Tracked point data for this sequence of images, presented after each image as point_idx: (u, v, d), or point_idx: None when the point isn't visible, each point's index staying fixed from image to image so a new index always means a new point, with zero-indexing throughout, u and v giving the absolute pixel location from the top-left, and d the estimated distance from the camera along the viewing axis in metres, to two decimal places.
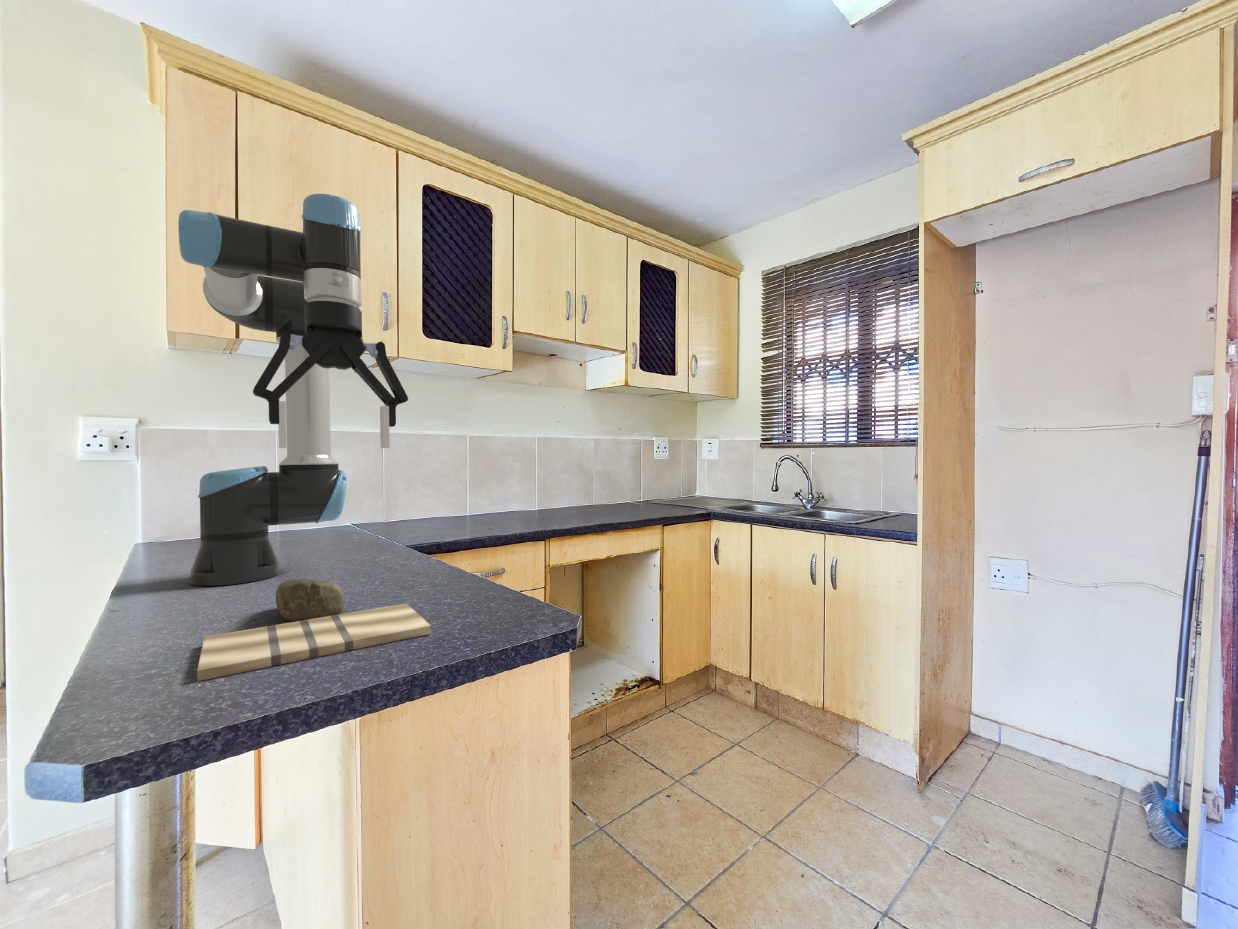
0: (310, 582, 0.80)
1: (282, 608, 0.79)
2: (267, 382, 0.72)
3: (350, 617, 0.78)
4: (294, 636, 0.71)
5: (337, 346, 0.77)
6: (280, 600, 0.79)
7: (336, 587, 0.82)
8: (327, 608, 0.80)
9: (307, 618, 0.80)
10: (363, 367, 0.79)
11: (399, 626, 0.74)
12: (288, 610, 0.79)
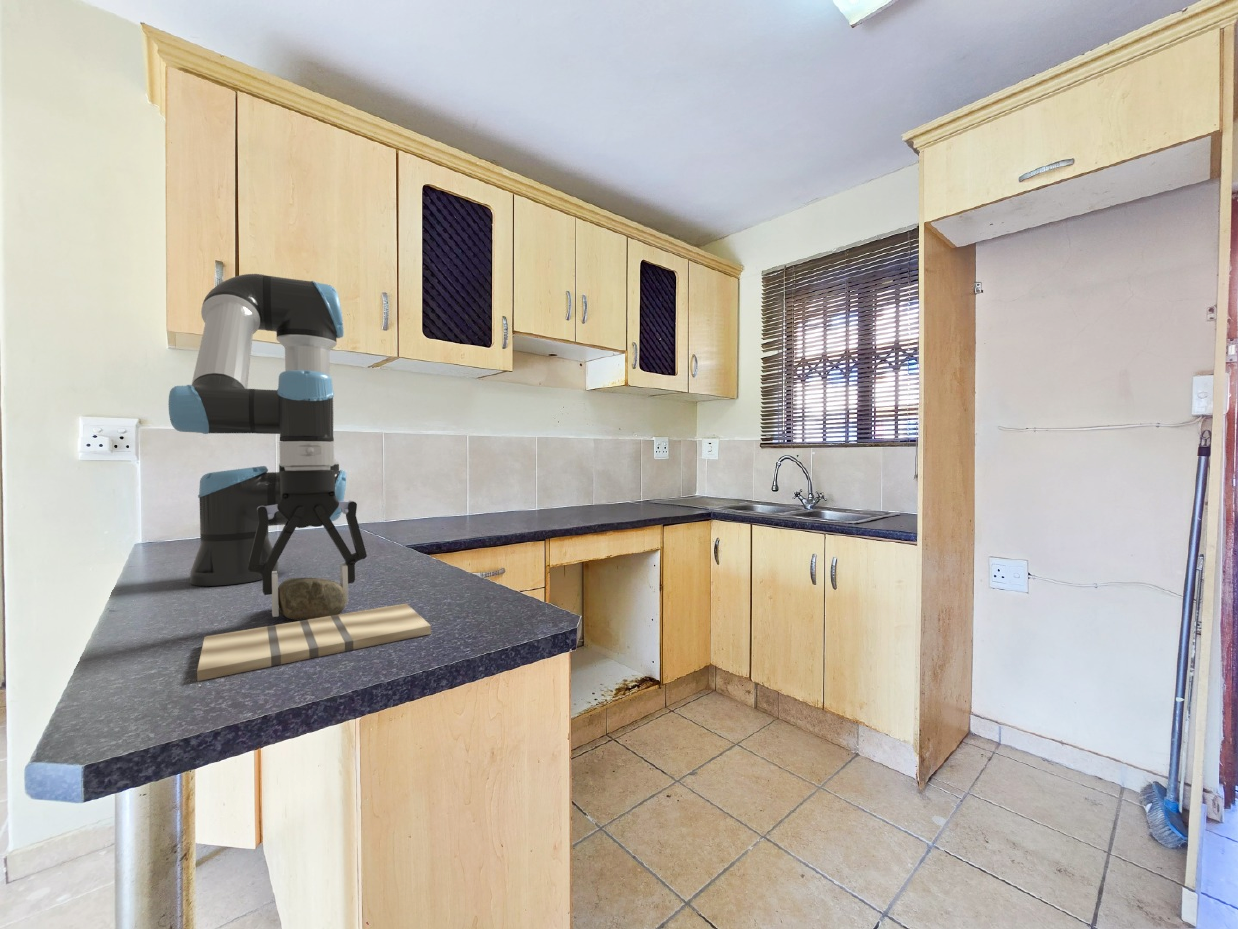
0: (312, 580, 0.80)
1: (284, 606, 0.79)
2: (258, 558, 0.79)
3: (350, 617, 0.78)
4: (294, 636, 0.71)
5: (311, 508, 0.83)
6: (282, 598, 0.79)
7: (337, 586, 0.82)
8: (328, 607, 0.80)
9: (309, 616, 0.80)
10: (331, 527, 0.84)
11: (399, 626, 0.74)
12: (289, 608, 0.79)
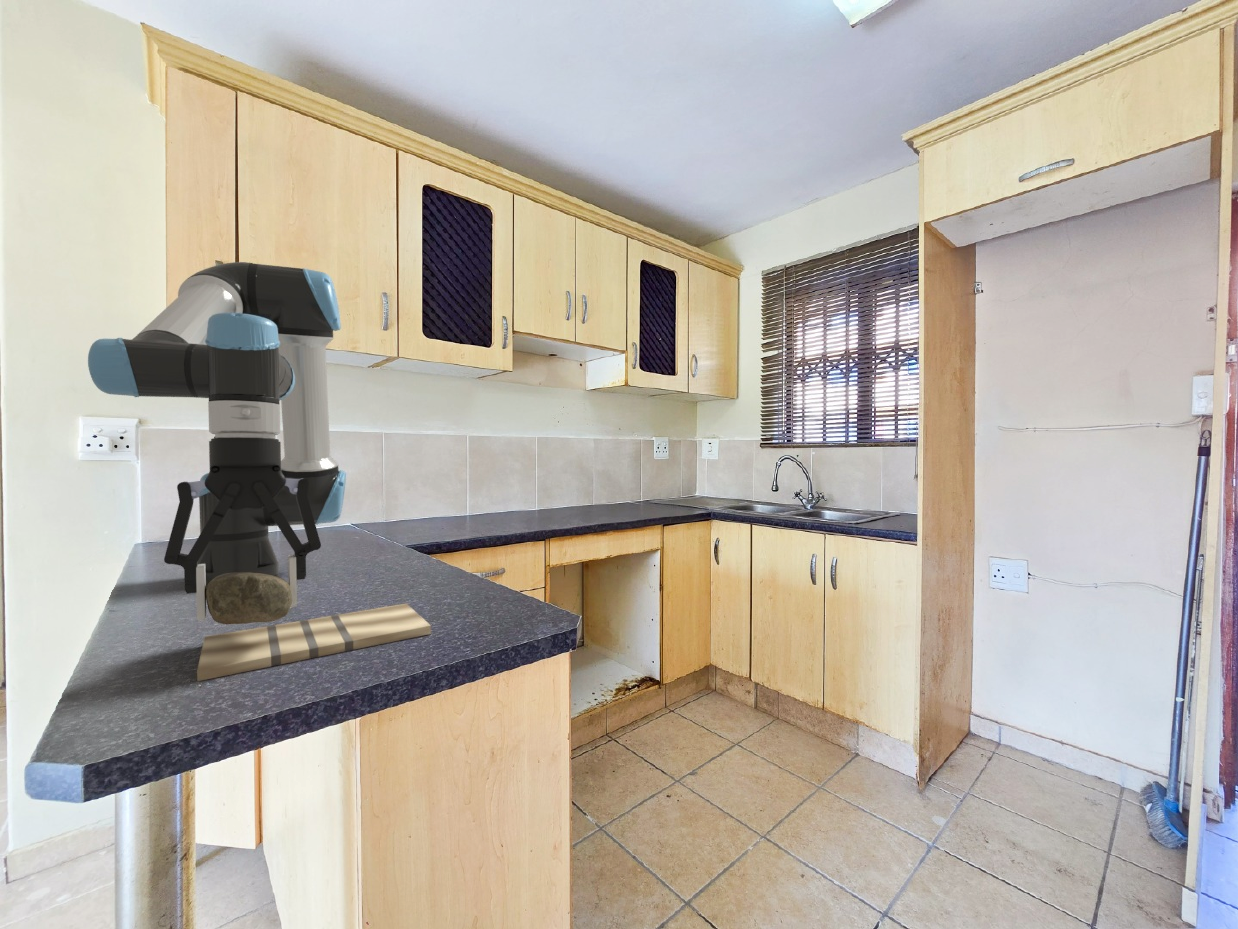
0: (247, 575, 0.64)
1: (210, 608, 0.63)
2: (178, 546, 0.63)
3: (350, 617, 0.78)
4: (294, 636, 0.71)
5: (249, 485, 0.67)
6: (208, 598, 0.63)
7: (281, 582, 0.66)
8: (268, 608, 0.64)
9: (242, 620, 0.64)
10: (274, 510, 0.68)
11: (399, 626, 0.74)
12: (217, 610, 0.63)
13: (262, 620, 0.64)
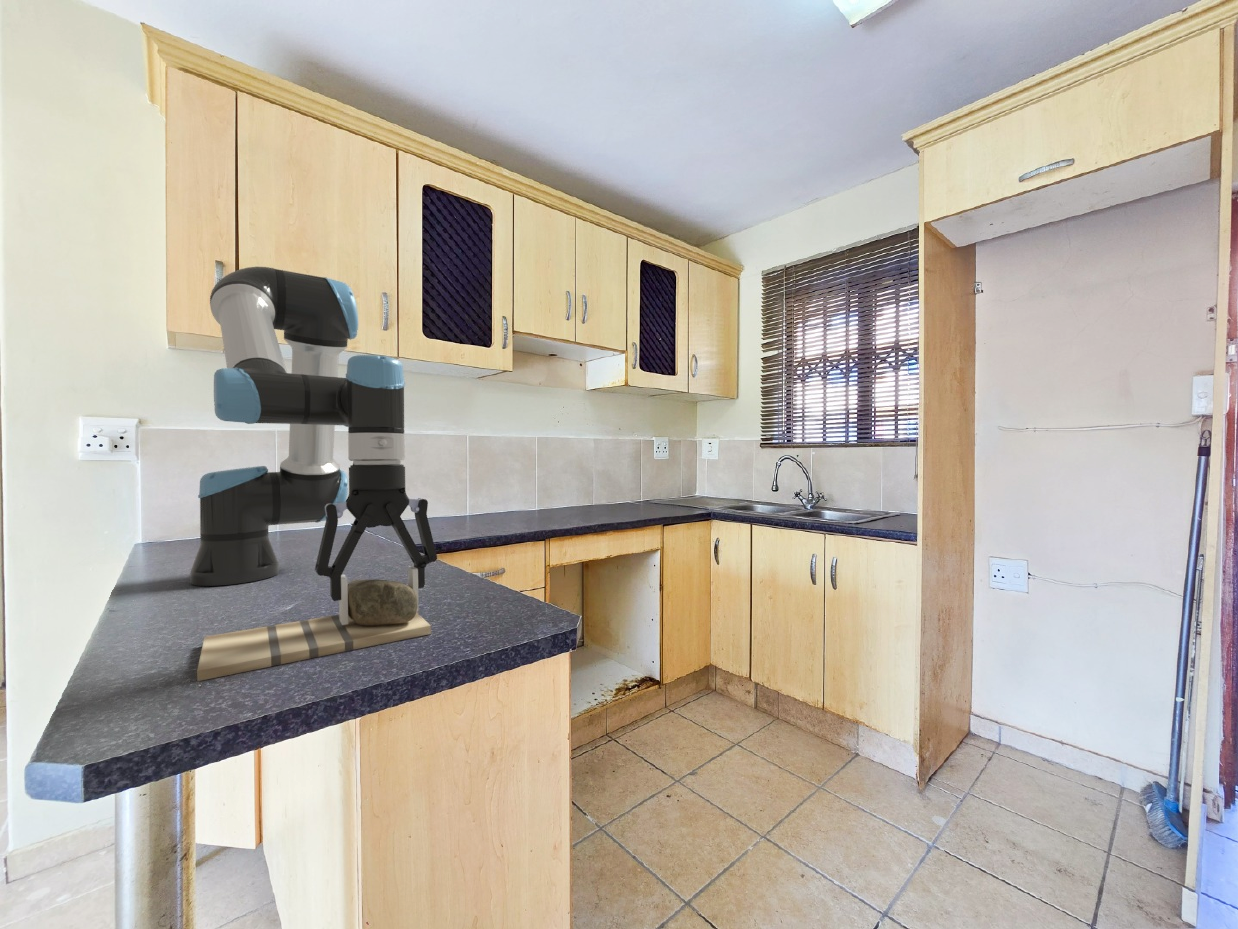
0: (383, 583, 0.73)
1: (353, 611, 0.72)
2: (327, 560, 0.72)
3: None
4: (294, 636, 0.71)
5: (381, 505, 0.76)
6: (351, 602, 0.73)
7: (409, 588, 0.75)
8: (401, 612, 0.73)
9: (380, 622, 0.73)
10: (401, 527, 0.77)
11: (399, 626, 0.74)
12: (359, 613, 0.72)
13: (396, 622, 0.74)
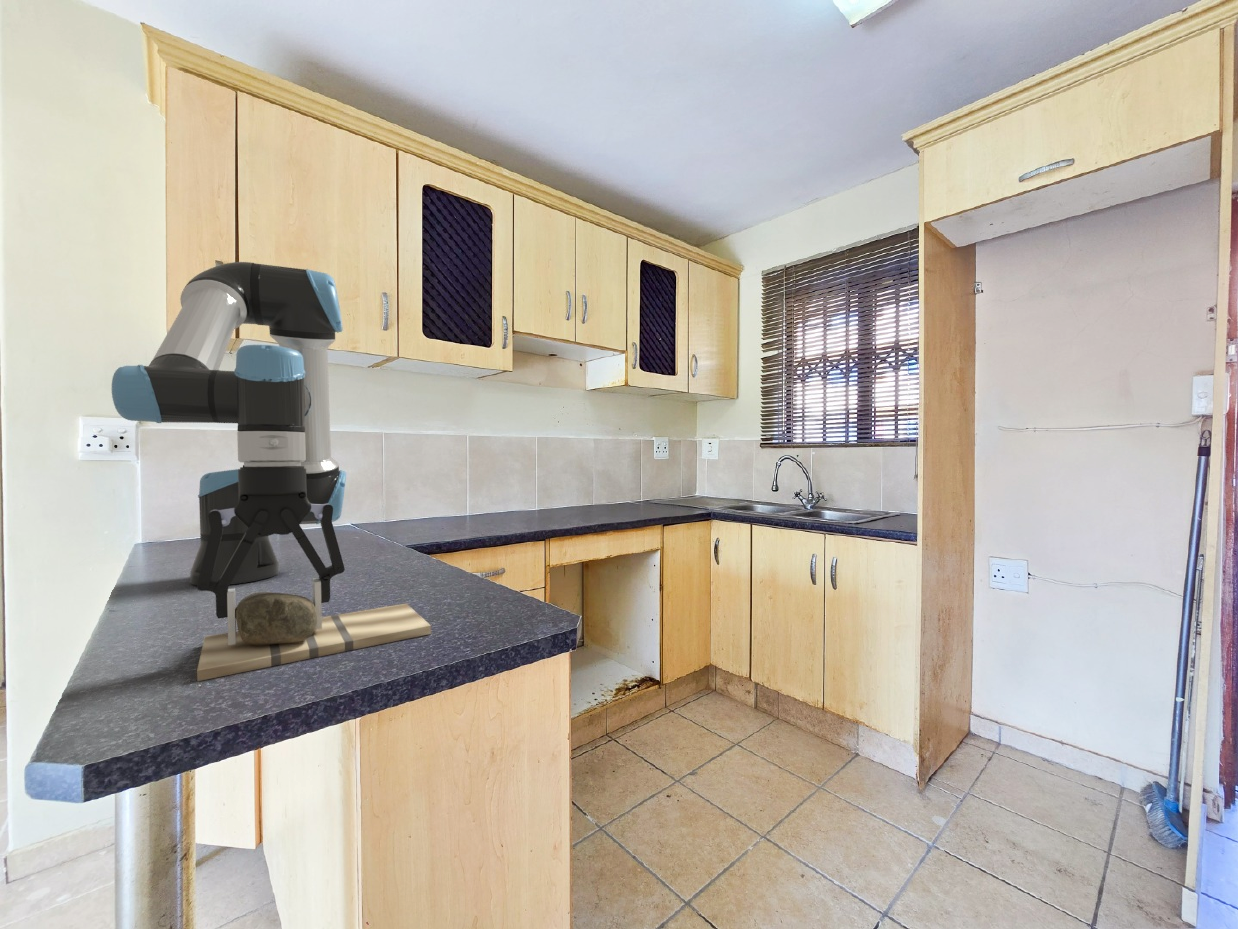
0: (273, 598, 0.66)
1: (239, 629, 0.65)
2: (210, 573, 0.65)
3: (350, 617, 0.78)
4: None
5: (276, 512, 0.69)
6: (237, 619, 0.65)
7: (306, 603, 0.68)
8: (293, 630, 0.66)
9: (269, 641, 0.65)
10: (301, 536, 0.70)
11: (399, 626, 0.74)
12: (246, 632, 0.65)
13: (288, 641, 0.66)
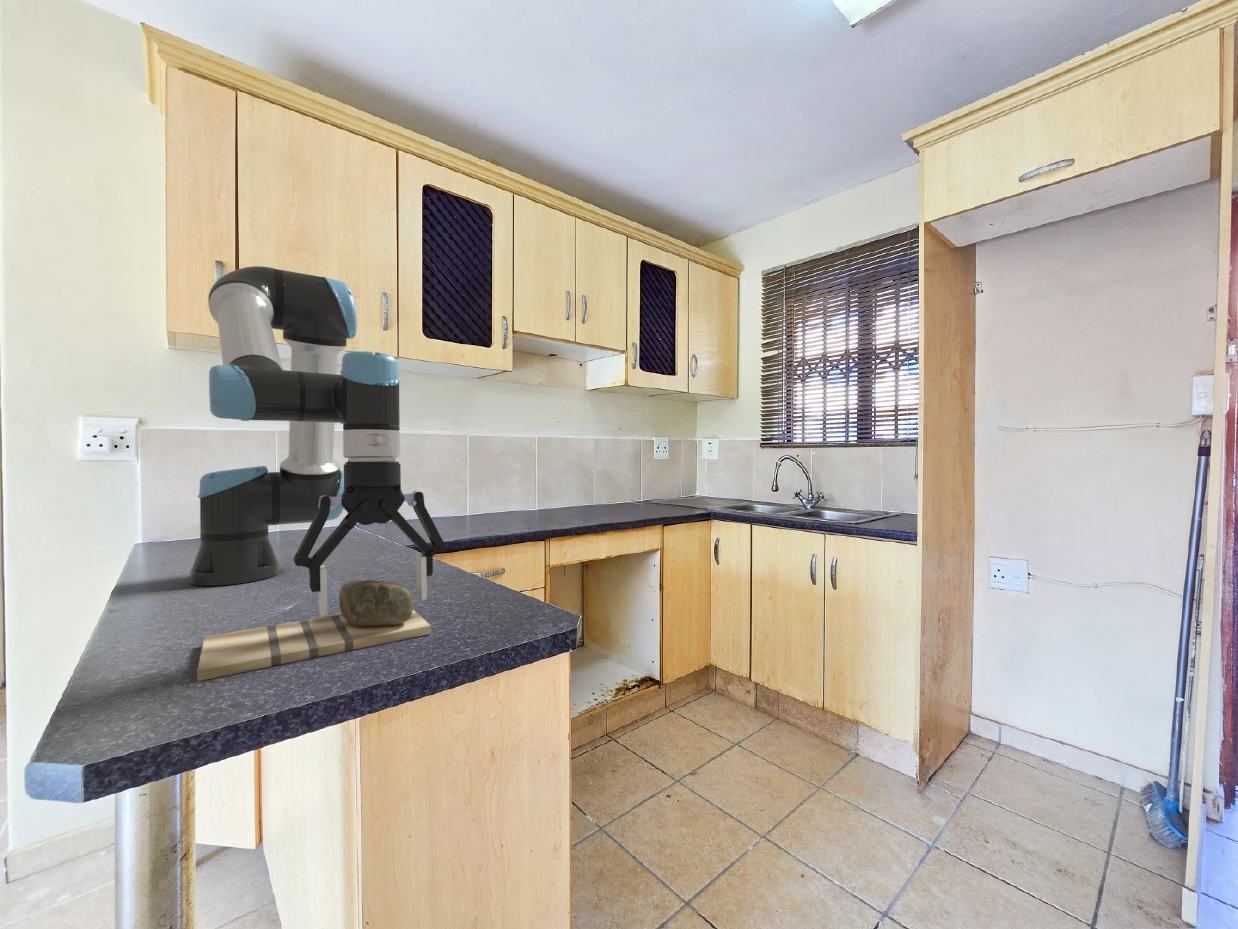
0: (378, 584, 0.73)
1: (348, 612, 0.72)
2: (308, 552, 0.71)
3: None
4: (294, 636, 0.71)
5: (376, 503, 0.76)
6: (346, 603, 0.72)
7: (405, 589, 0.75)
8: (396, 613, 0.73)
9: (375, 623, 0.73)
10: (402, 521, 0.77)
11: (399, 626, 0.74)
12: (354, 614, 0.72)
13: (391, 623, 0.73)
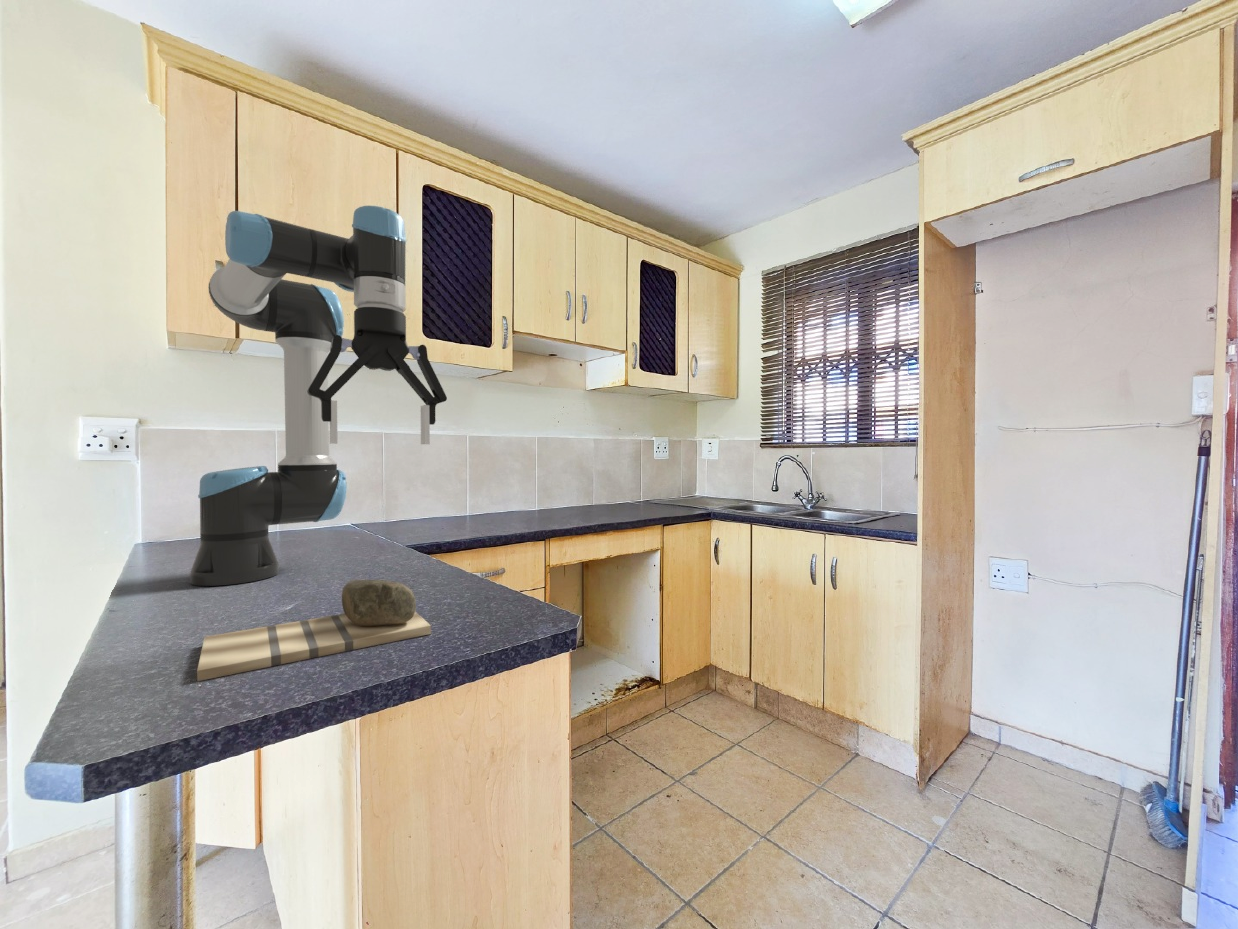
0: (381, 583, 0.73)
1: (351, 611, 0.72)
2: (321, 383, 0.78)
3: None
4: (294, 636, 0.71)
5: (383, 349, 0.83)
6: (349, 603, 0.72)
7: (407, 589, 0.75)
8: (399, 612, 0.73)
9: (378, 623, 0.73)
10: (406, 369, 0.84)
11: (399, 626, 0.74)
12: (357, 614, 0.72)
13: (394, 622, 0.73)
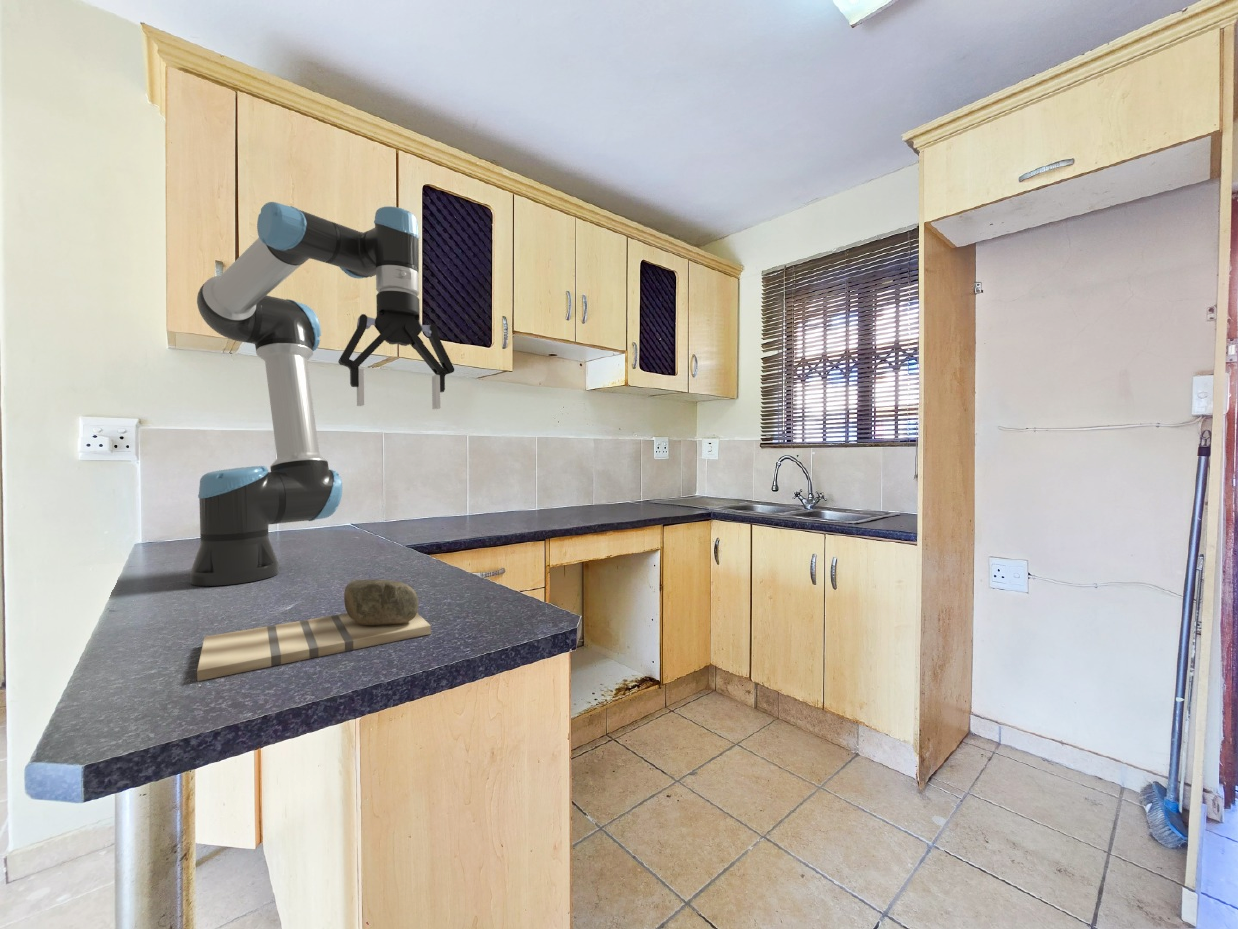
0: (384, 583, 0.73)
1: (354, 611, 0.72)
2: (350, 353, 0.93)
3: (350, 617, 0.78)
4: (294, 636, 0.71)
5: (401, 326, 0.98)
6: (352, 602, 0.73)
7: (410, 588, 0.76)
8: (402, 612, 0.73)
9: (381, 622, 0.73)
10: (420, 343, 1.00)
11: (399, 626, 0.74)
12: (360, 613, 0.72)
13: (397, 622, 0.74)
